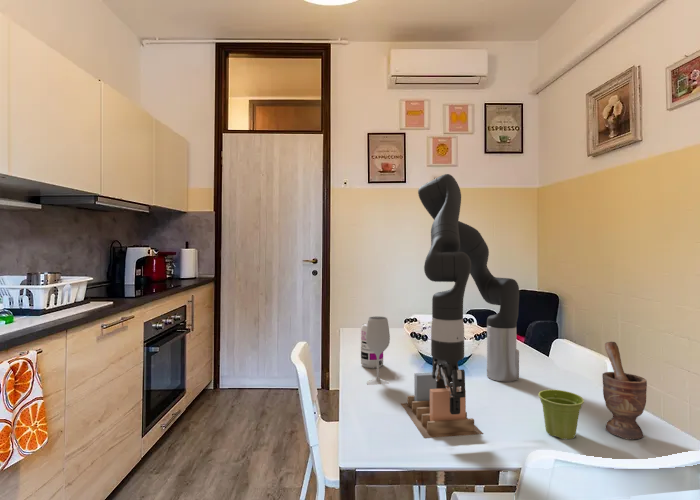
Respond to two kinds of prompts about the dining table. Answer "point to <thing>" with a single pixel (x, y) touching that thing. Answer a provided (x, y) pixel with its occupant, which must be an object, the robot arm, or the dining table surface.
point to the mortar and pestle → (623, 397)
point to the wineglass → (377, 341)
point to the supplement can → (368, 352)
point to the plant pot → (561, 412)
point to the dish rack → (441, 428)
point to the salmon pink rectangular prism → (444, 405)
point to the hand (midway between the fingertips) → (447, 406)
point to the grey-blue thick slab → (423, 386)
